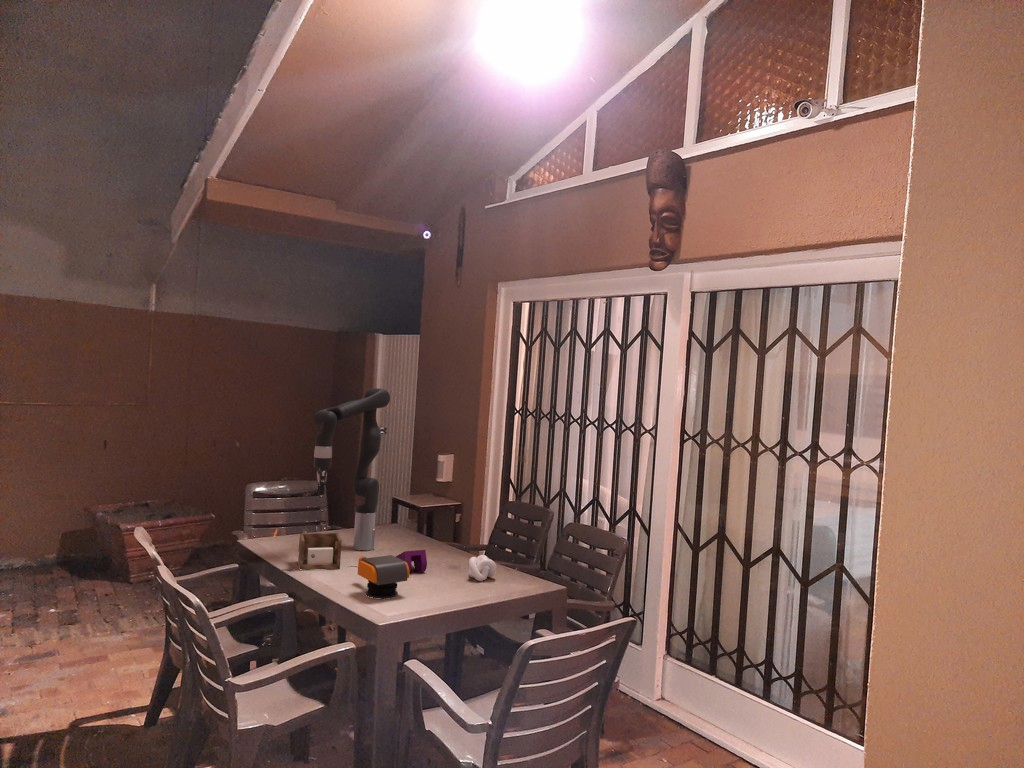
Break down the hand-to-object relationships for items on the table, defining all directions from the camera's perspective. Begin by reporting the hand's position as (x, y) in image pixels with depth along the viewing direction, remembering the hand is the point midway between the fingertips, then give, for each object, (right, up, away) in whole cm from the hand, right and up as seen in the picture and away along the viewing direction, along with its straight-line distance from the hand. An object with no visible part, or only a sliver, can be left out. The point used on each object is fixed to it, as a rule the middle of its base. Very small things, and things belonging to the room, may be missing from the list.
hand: (320, 493), depth 303 cm
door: (+4, -28, -16) cm, 33 cm away
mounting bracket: (+39, -31, -10) cm, 51 cm away
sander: (+32, -30, -42) cm, 61 cm away
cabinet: (+3, -28, -12) cm, 31 cm away
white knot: (+70, -33, -18) cm, 80 cm away
